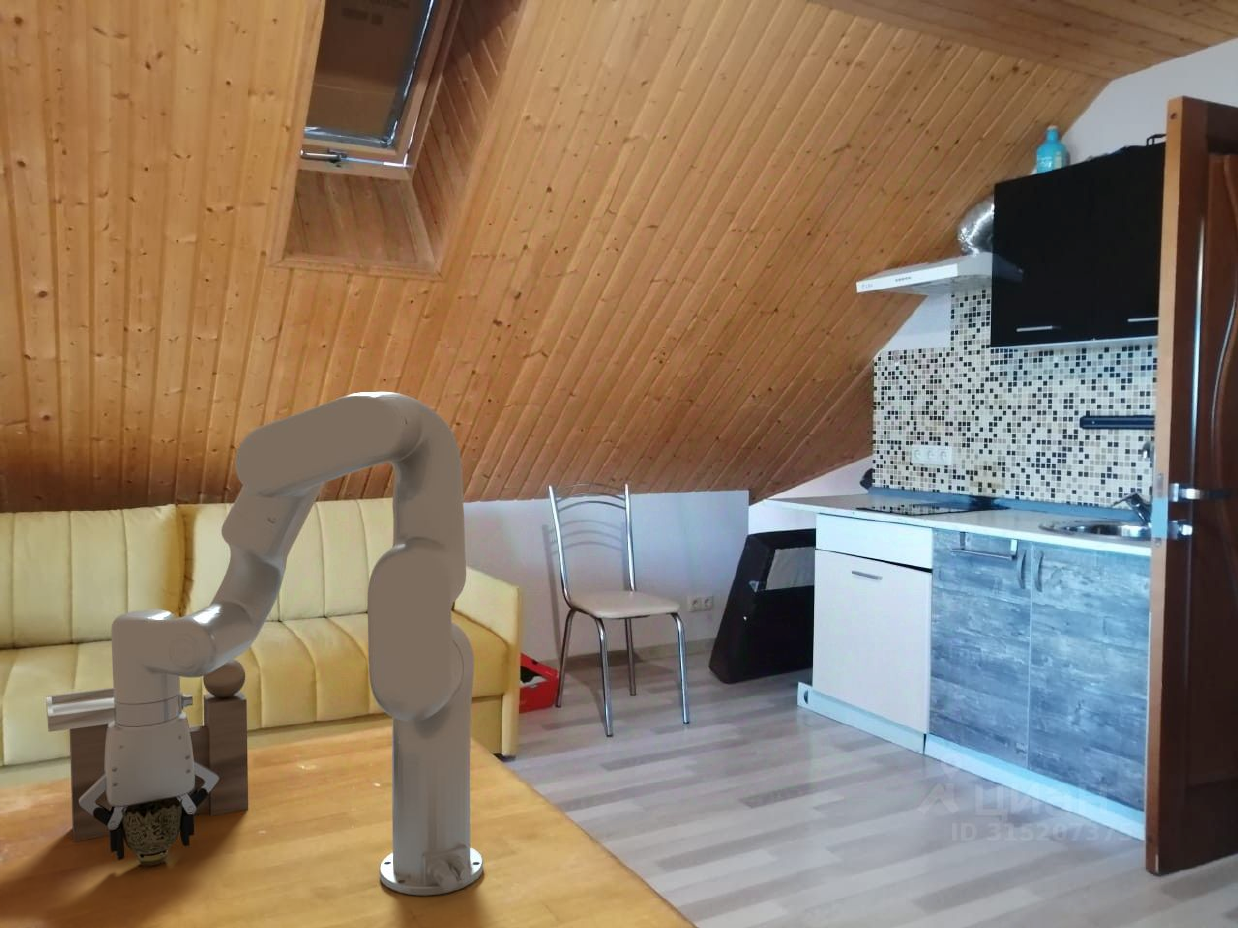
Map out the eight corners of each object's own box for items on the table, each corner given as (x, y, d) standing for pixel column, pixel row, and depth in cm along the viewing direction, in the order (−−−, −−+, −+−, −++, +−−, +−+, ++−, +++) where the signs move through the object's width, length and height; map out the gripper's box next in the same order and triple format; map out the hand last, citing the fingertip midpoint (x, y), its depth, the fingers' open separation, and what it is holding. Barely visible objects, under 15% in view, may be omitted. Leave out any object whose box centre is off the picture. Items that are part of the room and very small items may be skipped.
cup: (160, 877, 124) (158, 813, 124) (107, 871, 126) (104, 808, 125) (197, 850, 132) (195, 790, 131) (146, 845, 133) (144, 786, 133)
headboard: (254, 814, 144) (251, 664, 142) (52, 853, 131) (47, 688, 130) (240, 790, 153) (238, 648, 151) (50, 824, 140) (45, 669, 139)
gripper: (216, 692, 135) (220, 823, 136) (67, 713, 126) (73, 853, 128) (226, 706, 129) (230, 844, 130) (70, 730, 120) (76, 877, 121)
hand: (153, 847), depth 129 cm, fingers closed on cup, 6 cm apart
